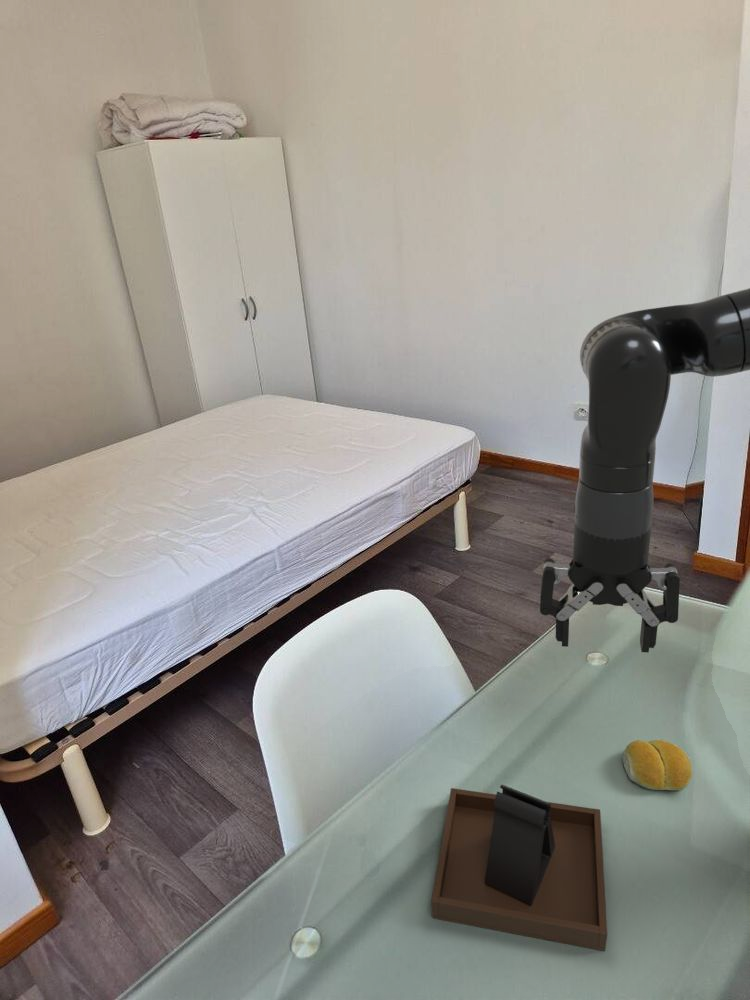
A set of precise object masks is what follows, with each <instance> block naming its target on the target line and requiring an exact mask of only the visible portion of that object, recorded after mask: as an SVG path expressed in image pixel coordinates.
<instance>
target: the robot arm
mask: <svg viewBox="0 0 750 1000" xmlns="http://www.w3.org/2000/svg"><path fill="white" fill-rule="evenodd" d="M579 350H580V351H579V362H580V366H581V369H582V371H583V373H584V375H585V378H586V379H587V382H588V411H587V413H588V414H587V425H586V426H585V427H584V428H583V431H582V434H581V439H580V446H579V468H578V483H577V488H576V492H575V501H574V507H573V512H574V524H573V525H574V526H573V527H574V529H573V552H572V559H571V561H570V563H569V564H566V563H556V562H555V560H554V559H553V558H550V557H547V558H545V559H544V560H543V564H542V573H541V574H542V576H541V585H540V586H541V587H540V588H541V589H540V595H539V596H540V598H539V613H540V614H541V615H543V616H549V615H550V616H553V617H554V619H555V639H556V642H561V647H564V648H565V647H566V648H567V647H568V648H569V636H570V635H569V634H570V617H571V616H572V615H574V613H575V612H576V611H577V612H579V611H580V610H581V609H582V608H583V607H584V606H586V605H587V604H588V603H589V602H590V603H592V605H594V606H595V605H596V606H603V605H611V606H614V607H624V605H626V604H629V606H630V607H631V609H633V611H634V612H635V613H636V614H637V615H640V616H641V624H640V625H641V626H640V634H639V645H640V650H641V651H640V652H641V653H648V654H649V652H650V649H654V648H655V646H657V645H656V644H657V635H658V627H659V625H660V624H661V623H666V622H667V623H669V624H675V623H676V622H678V621H679V620H678V619H679V608H680V607H679V606H680V605H679V604H680V585H681V583H680V581H681V580H680V577H679V573H678V572H679V571H678V570H677V566H676V565H675V564H674V563H672V562H670V563H666V564H664V567H651V566H650V565H649V557H650V543H651V536H652V535H651V534H652V523H653V513H654V475H655V463H656V452H657V451H656V449H657V448H656V447H657V445H656V444H657V442H656V440H657V436H658V433H659V431H660V428H661V425H662V421H663V418H664V414H665V411H666V407H667V404H668V399H669V394H670V388H671V381H672V376H673V375H679V374H684V373H693V374H694V373H695V374H699V375H702V376H705V377H723V376H730V375H734V374H738V373H743V372H748V371H750V287H748V288H745V289H740V290H737V291H733V292H729V293H726V294H722V295H719V296H715V297H712V298H710V299H706V300H703V301H698V302H693V303H686V304H685V303H683V304H674V305H668V306H667V305H666V306H660V307H653V308H646V309H641V310H634V311H630V312H626V313H625V312H624V313H622V314H618V315H615V316H612V317H610V318H607V319H604V320H603V321H600V322H599V323H598V324H596V325H595V326H594V327H592V328H591V329H590V330H589V332H587V334H586V335H585V337H584V338H583V340H582V343H581V346H580V349H579ZM565 577H568V579H569V580H570V582H571V583H572V584H570V586H569V587H568V589H567V591H566V592H565V594H563V595H562V596H561V597H560V598H559V599H558V600H557V599H555V598H553V597H554V587H555V585H556V586H557V585H558V584H560V583H562V579H563V578H565ZM652 581H654V582H656V584H657V587H658V588H659V589H660V590H662V604H659V605H655V604H654V603H653V601H651V599H650V598H649V596H648V595H647V593H646V591H645V588H646V587H647V586H648V585H649V584H650V583H651V582H652Z"/></svg>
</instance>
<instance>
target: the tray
mask: <svg viewBox="0 0 750 1000" xmlns="http://www.w3.org/2000/svg"><path fill="white" fill-rule="evenodd" d="M496 794H497V793H496ZM496 794H495V793H488V792H480V791H474V790H467V789H461V788H454V787H451V788H450V792H449V798H448V804H447V810H446V815H445V822H444V825H443V833H442V839H441V843H440V848H439V849H440V850H439V854H438V855H439V856H438V861H437V866H436V872H435V879H434V884H433V889H432V896H431V899H430V901H431V904H430V905H431V918H432V919H433V920H434V919H435V920H440V921H446V922H450V923H455V924H461V925H466V926H472V927H477V928H482V929H487V930H492V931H498V932H502V933H507V934H513V935H518V936H524V937H529V938H534V939H538V940H543V941H550V942H554V943H560V944H565V945H570V946H575V947H580V948H585V949H590V950H591V949H592V950H595V951H600V952H601V951H602V952H606V949H607V948H606V947H607V942H608V941H607V940H608V923H607V906H606V887H605V870H604V853H603V837H602V836H603V835H602V817H601V809H598V808H591V807H585V806H579V805H570V804H564V803H558V802H550V801H547V802H548V803H550V804H551V810H550V819H551V825H552V830H553V836H554V842H555V849H554V851H553V854H552V856H551V859H550V861H549V864H548V866H547V869H546V871H545V874H544V876H543V879H542V881H541V884H540V886H539V889H538V891H537V894H536V896H535V899H534V901H533V904H532V906H531V905H529V904H526V903H524V902H522V901H520V900H518V899H516V898H514V897H512V896H510V895H508V894H505V893H503V892H501V891H499V890H497V889H495V888H493V887H491V886H489V885H486V884H485V883H484V882H485V875H486V868H487V862H488V855H489V848H490V841H491V834H492V827H493V821H494V802H495V797H496Z"/></svg>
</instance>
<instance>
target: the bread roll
mask: <svg viewBox="0 0 750 1000" xmlns="http://www.w3.org/2000/svg"><path fill="white" fill-rule="evenodd" d="M622 761H623V766H624V770H625V772H626V775H627V777H628V778H629V779H630V780H631V781H632V782H633V783H634V784H637V785H639V786H640V787H643V788H645V789H647V790H654V791H679V790H683V789H685V788H686V787H687V786H688V784H689V783H690V781H691V779H692V773H693V766H692V763H691V760H690V758H689V756H688V755H687V753H686V752H685V751H684V750H683V749H682V748H681V747H680V746H677V745H676V744H674V743H671V742H669V741H666V740H663V739H652V740H648V741H644V740H642V739H641V740H639V739H637V740H634V741H632V742H630V743H629V744H628V745H627V746H626V747H625V749H624V752H623V755H622Z"/></svg>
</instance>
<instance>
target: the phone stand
mask: <svg viewBox="0 0 750 1000" xmlns="http://www.w3.org/2000/svg"><path fill="white" fill-rule="evenodd" d="M499 789H502V791H501V792H500V791H496V797H495V802H494V821H493V827H492V834H491V841H490V848H489V855H488V862H487V868H486V875H485V882H484V883H485V884H486V885H489V886H491V887H493V888H495V889H497V890H499V891H501V892H503V893H505V894H508V895H510V896H512V897H514V898H516V899H518V900H520V901H522V902H524V903H526V904H529V905H531V906H532V904H533V901H534V899H535V896H536V894H537V891H538V889H539V886H540V884H541V881H542V879H543V876H544V874H545V871H546V869H547V866H548V864H549V861H550V859H551V856H552V854H553V851H554V849H555V842H554V836H553V830H552V825H551V819H550V810H551V804H550V803H548V802H549V801H546V800H543V799H541V798H538V797H535V796H532V795H531V794H527V793H525V792H523V791H520V790H518V789H514V788H512V787H509V786H507V785H505V784H500V786H499Z"/></svg>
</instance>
